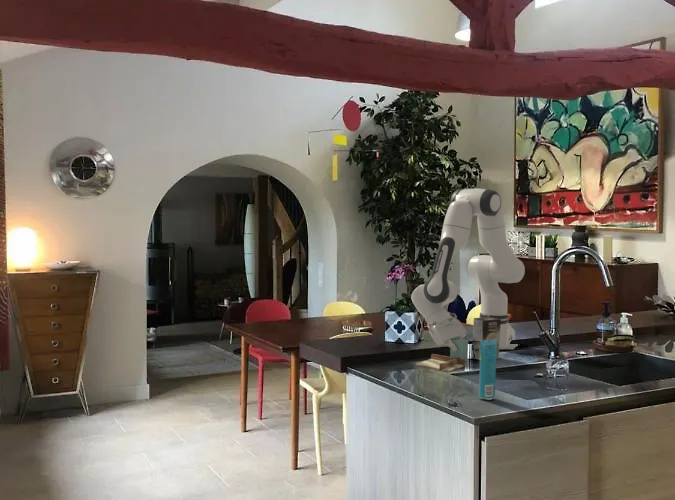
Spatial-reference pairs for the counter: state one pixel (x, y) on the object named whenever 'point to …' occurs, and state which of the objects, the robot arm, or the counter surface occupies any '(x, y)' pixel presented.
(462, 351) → the block
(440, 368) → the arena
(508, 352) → the counter surface
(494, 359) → the tube
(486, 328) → the coffee box
